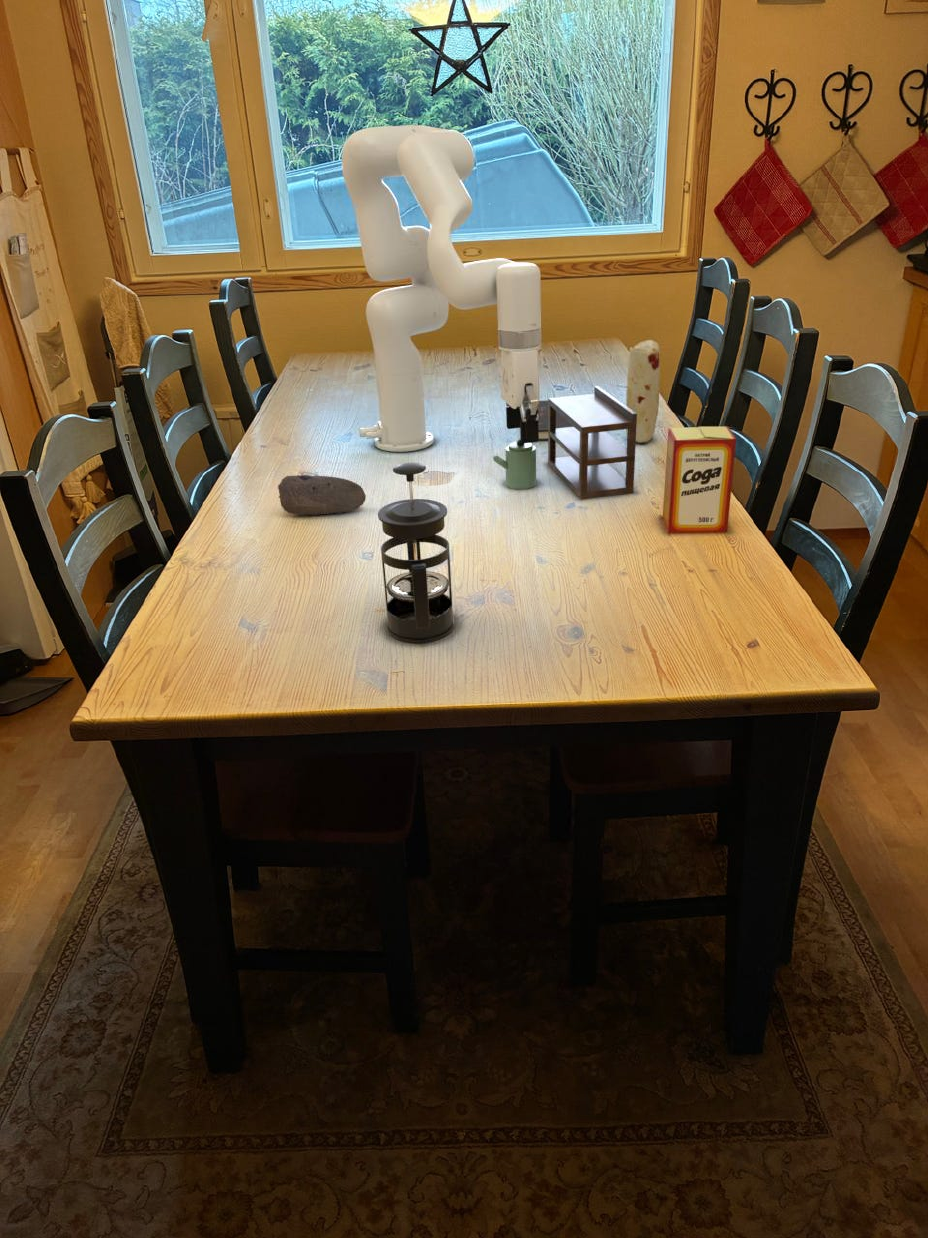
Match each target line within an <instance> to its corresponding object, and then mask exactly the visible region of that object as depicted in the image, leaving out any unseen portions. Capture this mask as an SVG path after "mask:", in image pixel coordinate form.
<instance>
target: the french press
mask: <svg viewBox="0 0 928 1238" xmlns="http://www.w3.org/2000/svg"><path fill="white" fill-rule="evenodd" d="M426 470H427V467H426V465H425V464H422V463H419V462H404V463H399V464H397V465H395V466H394V467H393V468H392V472H393V473H395V474H396V475H402V476H405V478H406V482H408V488H409V498H408V499H402V500H397V501H394V502H391V503H388V504H385V505H384V506H382V507H381V508H380V509H379V510H378V511H377V518H378V520H379V521H380V522H381V527H382V532H383V533H384V534H385V535H387V536H388V537H391V538H389V539H387V540H385V542H383V543H382V545H381V547H380V553H381V565H382V574H383V586H384V598H385V599H384V600H385V608H386V619H387V622H386V627H385V628H386V632H387V633H388V635H389V636H390V637H392V638H393V639H395V640H397V641H400V642H404V643H408V644H409V643H411V644H424V643H430V642H431V643H432V642H434V641H438V640H441V639H444V638H445V637H448V636H449V635H450V634H451V633H452V632H453V631H454V629H455V627H456V620H455V618H454V615H453V613H454V611H453V591H452V576H451V575H452V574H451V573H452V572H451V555H450V543H449V541H448V540H447V539H446V538H445V537H443V536H441V535H439V533H441V532H442V531H443V530H444V529H445V517H447V515H448V508H447V506H446V505H445V504H444V503H442V502H439V501H436V500H432V499H427V498H426V499H425V498H414V494H413V492H414V491H413V482H414V481H415V477H414V475H418V474H421V473H423V472H425V471H426ZM421 543H428V544H434V545H437V546H441V547H442V548H444V549H445V550H444V551H442V552H441V553H439V554H437V555H433V556H430V557H427V558H422V556H421V555H422V553H421ZM405 544H406V548H407V549H406V551H407V559H401V558H396V557H392V556H390V555H388V554H386V553H387V552H388V551H389V550H391V549H392V548H395V547H397V546H401V545H405ZM444 562H446V563H447V577H446V576H445V575H443V574H442V573H439V572H435V571H428V570H427V569H430V568H434V567H436V566H439V565H442V564H443V563H444ZM386 565H387V566H388V567H391V568H394V569H398V570H405V571H408V572H404V573H401V574H398V575H396V576H393V577H391V578H390V579H389V580H388V581H387V578H386V567H385V566H386ZM447 591H448V595H447V594H445V593H446V592H447ZM388 594H389V596H390V597H392V598H391V599H389V600H388ZM413 614H414V619H409V618H408V619H407V618H404V617H406V616H407V617H408V616H410V615H413ZM430 614H433V615H437V616H434V617H431V616H430Z"/></svg>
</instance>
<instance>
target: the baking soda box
mask: <svg viewBox="0 0 928 1238" xmlns="http://www.w3.org/2000/svg"><path fill="white" fill-rule="evenodd" d="M736 446H737V437H736V435H734V432H733V431H732V430H731V429H730V427H729V426H727V425H726V426H695V427H693V426H691V427H688V426H687V427H668V428H667V447H666V459H665V460H666V461H665V462H666V463H665V475H664V476H665V477H664V491H663V505H662V506H663V508H662V520H663V523H664V526H665V529H666V531H667V534H699V533H700V534H702V533H703V534H704V533H705V534H706V533H707V534H708V533H728V528H729V518H730V506H731V497H732V486H733V477H734V466H735V458H736V457H735V456H736Z"/></svg>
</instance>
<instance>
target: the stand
mask: <svg viewBox="0 0 928 1238" xmlns="http://www.w3.org/2000/svg"><path fill="white" fill-rule="evenodd" d="M593 389H594V390H593V393H587V394H576V395H566V396H557V397H549V398H547V400H548V404H549V405H548V441H547V461H548V462H547V465H548V466H549V467H550V468H551V469H552V470H553V471H554V473H556V474H557V476H558V477H559V478H560V479H561V480H562V481H563V482H564V483H565V484H566V485H567V486H568V487H569V488H570V490H571V491H572V492H573V493H574V494H575V495H576V496H577V497H578V498H579V499H580V500H585V499H595V498H602V497H610V496H611V497H612V496H619V495H627V494H634V488H635V487H634V485H635V469H636V468H635V467H636V465H635V464H636V463H635V462H636V446H637V445H636V443H637V442H636V426H637V422H636V421H637V413H635V412H634V411H633V410H631V409H630V408H628V407H627V406H626V404H624V403H623V402H622V401H620V400H619V399H617V398H616V397H615V396H613V395H612V394H610V393H609V392H607V391H606V390H605V389H604V388H602V387H601V386H599V385H594V388H593ZM556 411H557V412H558V413H559V414H560V415H561V416H562V417H563V418H565V419H566V420H567V421H568V422H569V423H570V424H571V425H573V426H574V427H566V428H557V429H556ZM626 429H628V434H627V435H626V446H624V445H623V444H622V443H621V442H619V441H618V440H617V439H616V438H615V437H614V436H612V435H611V433H609V432H612V431H621V430H626ZM557 445H558V446H559V447H560V448H562V449H563V450H564V451H565V452H566V454H568V455H569V456H568V455H567V456H558V457H557V455H556V454H557ZM617 463H625V477H624V476H622V475H621V474H620V473H619V472H618V471H617V470H616V469H615V468H614V467H613V466H611V465H610V464H617Z"/></svg>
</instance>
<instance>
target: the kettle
mask: <svg viewBox="0 0 928 1238" xmlns="http://www.w3.org/2000/svg"><path fill="white" fill-rule="evenodd" d="M492 460H493V461H494V462H495V463H496V464H497V465H499V466H501V468H503V469H505V485H506V487H508V488H510V489H513V490H527V489H532V488H534V487H536V485H537V447H536V445H534V444H533V443H524V444H523V443H521V438H520V439H518V440H517V441H512V442H511V443H509V444H508V445H507V446H506V447H505V459H503V458H502V457H501V456H499V455H497V454H496V455H494V456H493V457H492Z"/></svg>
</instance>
